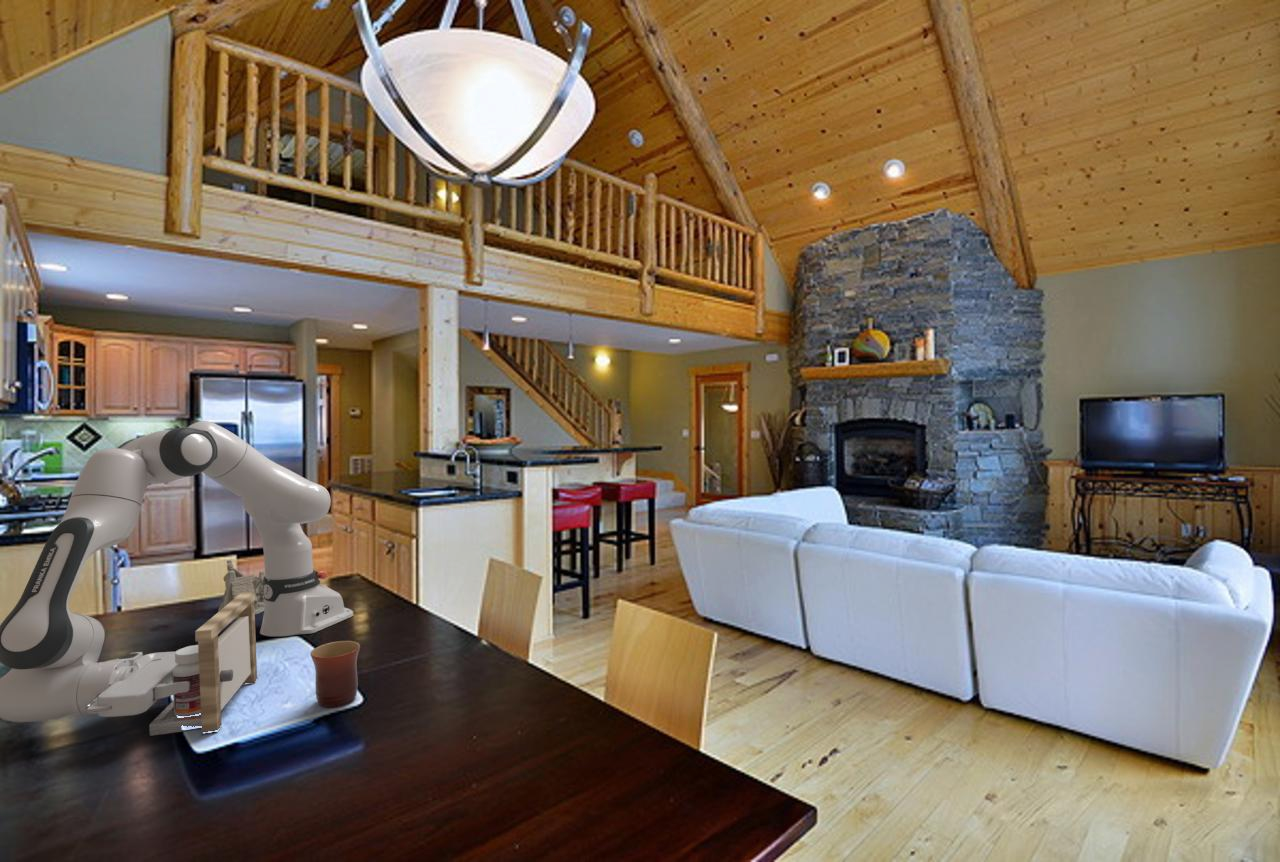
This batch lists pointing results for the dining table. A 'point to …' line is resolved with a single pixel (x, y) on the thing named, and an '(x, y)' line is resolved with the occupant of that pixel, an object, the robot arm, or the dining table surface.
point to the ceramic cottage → (243, 587)
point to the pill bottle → (186, 670)
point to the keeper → (171, 722)
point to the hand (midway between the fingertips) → (198, 676)
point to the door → (233, 658)
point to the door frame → (210, 656)
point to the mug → (336, 672)
